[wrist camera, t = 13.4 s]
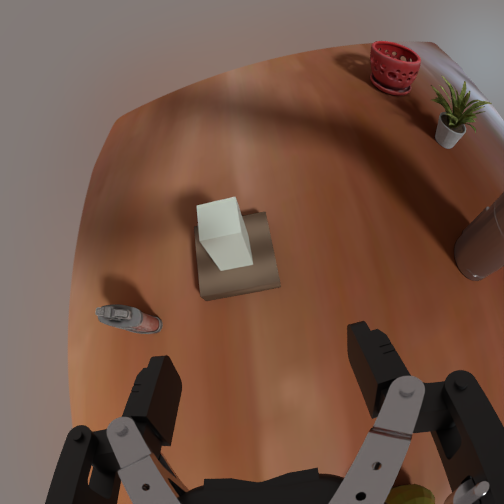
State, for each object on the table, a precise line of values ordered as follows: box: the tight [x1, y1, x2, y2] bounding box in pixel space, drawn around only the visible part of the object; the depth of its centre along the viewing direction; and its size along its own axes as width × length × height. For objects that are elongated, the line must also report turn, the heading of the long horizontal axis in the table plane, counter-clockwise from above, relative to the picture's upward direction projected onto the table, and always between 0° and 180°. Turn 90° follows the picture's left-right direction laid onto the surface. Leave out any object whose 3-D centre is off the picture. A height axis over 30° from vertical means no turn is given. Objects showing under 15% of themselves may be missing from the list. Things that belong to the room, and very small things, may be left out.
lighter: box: [96, 305, 162, 334], centre depth 40 cm, size 8×3×10 cm, turn 89°
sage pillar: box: [197, 197, 253, 271], centre depth 39 cm, size 5×5×11 cm
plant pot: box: [370, 41, 421, 96], centre depth 55 cm, size 13×13×12 cm
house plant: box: [431, 76, 492, 149], centre depth 44 cm, size 14×14×16 cm
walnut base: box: [194, 212, 281, 301], centre depth 46 cm, size 12×12×3 cm
